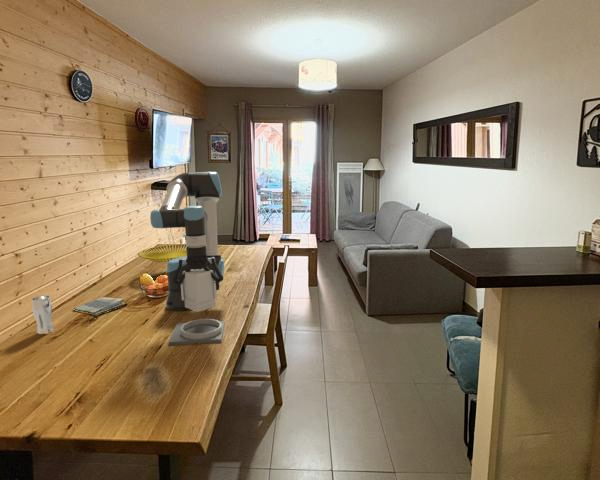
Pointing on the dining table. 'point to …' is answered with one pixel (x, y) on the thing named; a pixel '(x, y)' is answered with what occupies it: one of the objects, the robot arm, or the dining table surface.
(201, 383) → the dining table surface
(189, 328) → the bottle holder
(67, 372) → the dining table surface
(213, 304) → the supplement box
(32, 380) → the dining table surface
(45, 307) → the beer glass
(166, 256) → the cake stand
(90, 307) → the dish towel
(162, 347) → the dining table surface
